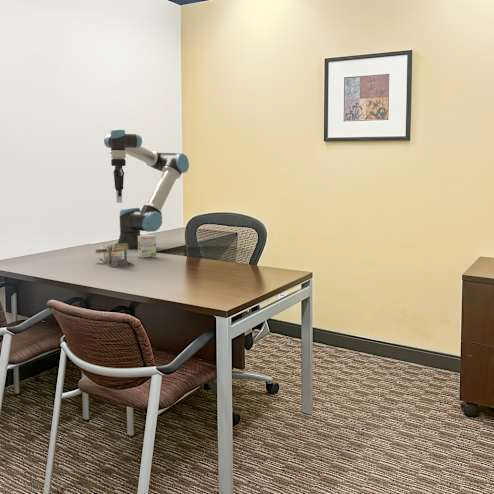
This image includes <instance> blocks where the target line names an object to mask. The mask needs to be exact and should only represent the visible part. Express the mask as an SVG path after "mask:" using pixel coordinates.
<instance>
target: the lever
mask: <svg viewBox="0 0 494 494" xmlns="http://www.w3.org/2000/svg"><path fill="white" fill-rule="evenodd" d="M108 247H111V252H119V251H123V252H124V250H127V249H128V243H121V244H117V243H113V244H111V245H108V246H107V249H108ZM107 249H95V254H99V253H103V252H107ZM128 250H129V249H128Z"/></svg>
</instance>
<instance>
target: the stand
mask: <svg viewBox="0 0 494 494" xmlns="http://www.w3.org/2000/svg"><path fill="white" fill-rule="evenodd" d="M128 251H129V249H127V250H123V258H122V259H121V260H111V247H108V249H107V252H108V255H109V260H107V261H103V260H102V262H103V263H104V264H105V265H107V266H109V267H110V268H112V269H113V268H125V267H126V266H127V267H135V265H134V263H132V262H130V261H128V258H127V257H128V253H127V252H128ZM127 267H126V268H127Z"/></svg>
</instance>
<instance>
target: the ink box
mask: <svg viewBox="0 0 494 494" xmlns="http://www.w3.org/2000/svg"><path fill="white" fill-rule="evenodd" d="M156 239H157V236H156V235H154V234H146V235H141V236H138V248H137V257H138V256H139V257H152V258H155V257H154V256H156V257H157V249H156V248H157V243H156V242H157V240H156ZM139 257H138V258H139Z"/></svg>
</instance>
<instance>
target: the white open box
mask: <svg viewBox="0 0 494 494" xmlns="http://www.w3.org/2000/svg"><path fill="white" fill-rule="evenodd" d="M98 248H99V249H107V246H99V247H98ZM99 249H98V250H99ZM114 253H115V256H111V260H121V259H123V255H122V251H119V252H114ZM98 254H99V255H98V256H99V259H100V260H102V262H103V261H107V260H109V256H108V252H103V253H98Z"/></svg>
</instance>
